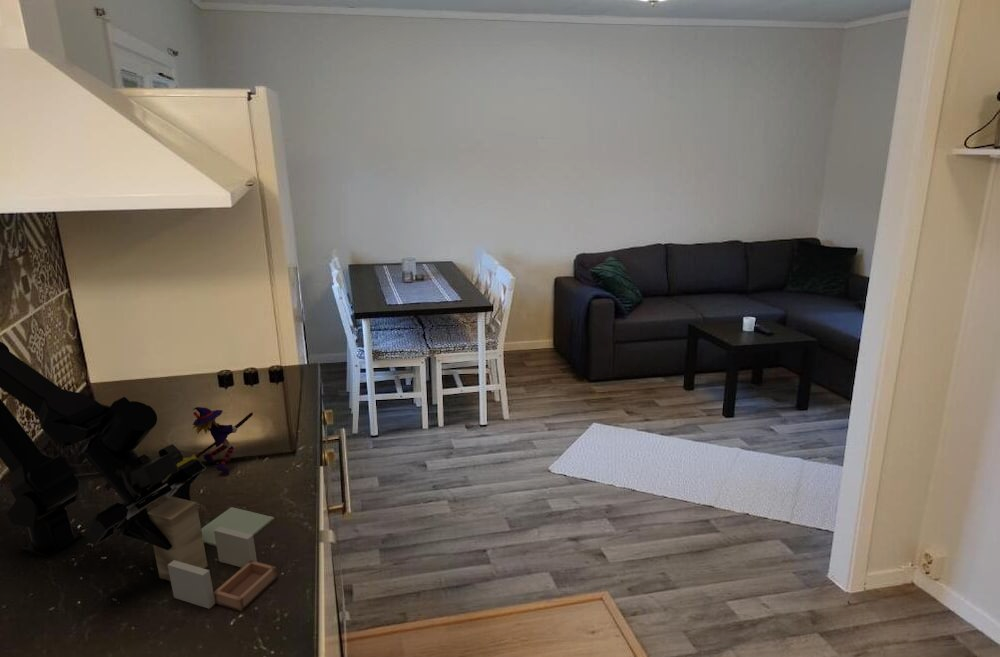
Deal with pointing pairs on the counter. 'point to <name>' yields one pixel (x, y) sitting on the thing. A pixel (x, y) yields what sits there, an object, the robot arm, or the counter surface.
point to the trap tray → (245, 585)
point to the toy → (214, 435)
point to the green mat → (235, 523)
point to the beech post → (178, 534)
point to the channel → (197, 581)
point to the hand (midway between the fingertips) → (184, 538)
